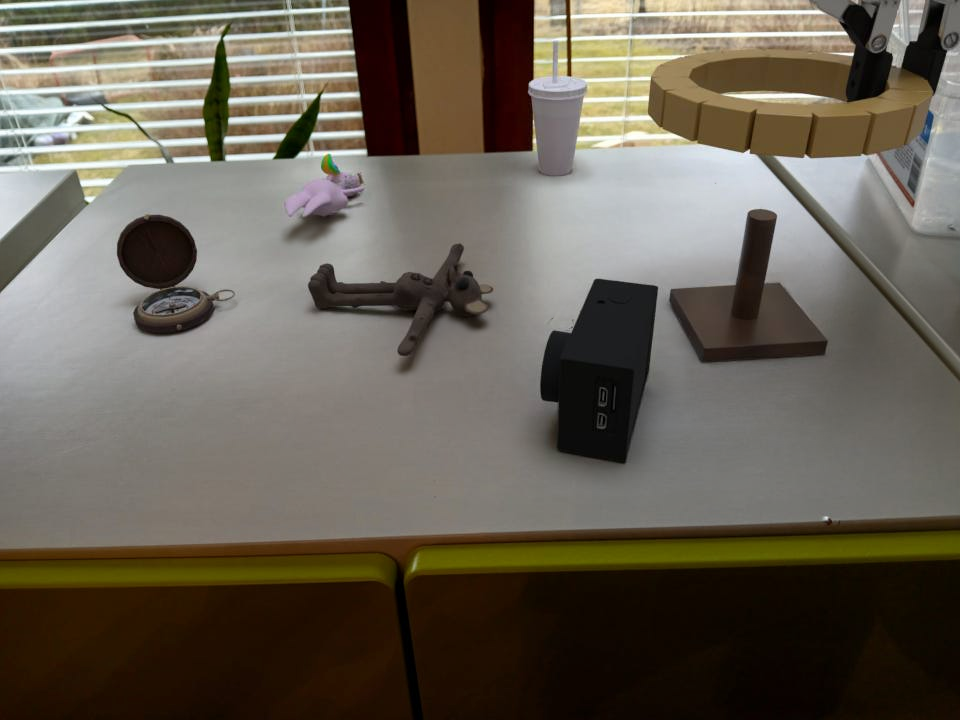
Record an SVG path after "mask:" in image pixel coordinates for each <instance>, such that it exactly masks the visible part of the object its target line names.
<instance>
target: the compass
mask: <svg viewBox="0 0 960 720" xmlns="http://www.w3.org/2000/svg"><path fill="white" fill-rule="evenodd" d="M116 257H117V260H118V263H119V267H120V268H121V270H122V271H123V273H124V274H125V275H126V276H127V277H128V278H129V279H130V280H131V281H133V283H136V284H138V285H140V286H142V287H144V288H148V289H154V290H155V289H156V290H157V291H154V292H152V293H150V294H148V295H147V296H146V297H145V298H143V299H142V300H141V302H139V303H138V304H137V306H135V308H134V310H133V313H132V314H133V319H134V322H135V325H136V326H137V327H138V328H140V329H142V330H144V331H147V332H150V333H158V334H161V333H164V334H165V333H175V332H180V331H184V330H186V329H190V328H193V327H195V326H197V325H199V324H201V323H203V321H205V320H206V319H207V318H208V317H209V316H210V315H212V312H213V311H214V307H215V306H214V302H215V301H216V302H225V301H228V300H231V299H233V298H234V297H235V296H236V292H235V291H234V290H233V289H227V288H226V289H220V290H217V291H215V292H214V293H212V294H209V293H208V292H206V291H203V290H200V289H197V288H195V287H192V286H178V285H179V284H180V283H182V282H183V281H185V280H186V279H188V277H189V276H190V275H191V273H192V272H193V271H194V268H195V266H196V264H197V259H198V258H197V257H198V248H197V244H196V240H195V238H194V237H193V235H192V233H191V232H190V230H189V229H188V228H187V227H186V226H185V225H184V224H183V223H182V222H181V221H179V220H177V219H175V218H173V217H171V216H167V215H163V214H149V213H146V214H144V215H143V216H141V217H138V218H135V219H134V220H132V221H131V222H129V223H128V224H127V225H126V226H125V227H124V228H123V230H122V231H121V232H120V233H119V237H118V239H117V242H116ZM222 292H223V293H224V292H230V293H232V294H231V295H230V296H229V297H226V298H220V295H219V294H220V293H222Z"/></svg>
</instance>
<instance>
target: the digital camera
mask: <svg viewBox="0 0 960 720" xmlns="http://www.w3.org/2000/svg"><path fill="white" fill-rule="evenodd" d="M658 292H659V286H658V285H655V284H647V283H638V282H629V281H621V280H613V279H607V278H606V279H605V278H595V279H593V281H592V284H591V285H590V288H589V290H588V293H587V295H586V298H585V300H584V303H583V304H582V307H581V309H580V311H579V313H578V316H577V318H576V321H575V323H574V325H573V327H572V330H571V332H567V331H561V330H557V329H555V330H552V331H551V332H550V334H549V336H548V339H547V341H546V345H545V348H544V353H543V358H542V363H541V368H540V369H541V370H540V383H539V384H540V385H539V391H540V398H541V400H542V401H544V402H550V403H556V404H558V409H557V436H556V437H557V439H556V449H557V450H558V451H559V452H564V453H569V454H573V455H580V456H585V457H590V458H596V459H602V460H606V461H613V462H616V463H617V462H618V463H622V464H625V463H626V462H627V458H628V454H629V451H630V446H631V443H632V438H633V435H634V432H635V428H636V424H637V420H638V417H639V411H640V408H641V404H642V401H643V396H644V392H645V388H646V385H647V381H648V377H649V374H650V366H651V359H652V348H653V340H654V330H655V322H656V321H655V320H656V314H657V313H656V312H657V304H658V294H659V293H658Z"/></svg>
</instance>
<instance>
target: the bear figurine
mask: <svg viewBox="0 0 960 720" xmlns="http://www.w3.org/2000/svg"><path fill="white" fill-rule="evenodd" d="M464 250H465V246H464V245H463V244H462V243H459V242H458V243H454V244H452V246H451V247H450V249H449V253H448V255H447V257H446V259H445V260H444V262H443V263H442V265H441V266H440V268H439V269H438V270H437V272H436V274H435V275H434V276H433V278H432V277H429V276H426V275H424V274H422V273H420V272H413V271H406V272H404V273H402V274H401V276H400V277H398V279H397V280H396V281H395V282H387V281H385V280H384V281H383V280H381V281H380V282H362V283H361V282H359V283H358V282H357V283H354V282H353V283H346V282H343V281H337V277H336V274H335V268H334V266H333V264H331V263H323V264H320V265H319V267H318V269H317V271H316V273H314V274H313V275H311V276H310V279H309V281H308V283H307V288H308V291H309V293H310V295H311V298H312V300H313V303H314V305H315V308H317V309H319V310H322V309H326V308H330V307H335V308H339V307H352V309H357V308H360V307H386V306H387V307H392V306H395V307H397V308H398V309H400V310H404V311H416V312H415V314H414V317H413V319H412V322H411V324H410V326H409V328H408V331H407V333H406V334H405V336H404V337H403V339H402V340H401V342H400V344H398V346H397V354H398V355H399V356H401V357H407V356H409V355H412V354H413V353H414V351H415V349H416V347H417V346H418V344H419V342H420V339H421V337H422V335H423V333H424V332H425V330H426V327H427V326H428V323H429V321H430V320H431V319H432V318H433V316H434V313H435V312H439V311H440V310H442V309H443V308H444V306H445V303H446V302H449V304H450V306H451V307H452V309H453V310H454V311H455V312H456V313H457V314H458V315H461V316H464V317H467V316H472V315H480V314H484V313H486V312H487V311H488V310H489V307H490V306H489V305H488V304H486V303H485V301H483V296H482V295H487V294H488V295H489V294H492V293H493V292H494V287H493V286H491V285H488V284H479V282H478V281H477V280H476V278H475V277H474V273H473V272H472V271H471V270H465V271H463V272H462V273H461V272H460V270H459V263H460V261H461V258H462V255H463V253H464Z"/></svg>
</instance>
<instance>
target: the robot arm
mask: <svg viewBox="0 0 960 720" xmlns="http://www.w3.org/2000/svg"><path fill="white" fill-rule="evenodd" d="M901 1H902V0H857V2H855V1H853V0H809V1H808V2H809V5H810V6H811V7H812V8H814V9H816V10H819V11H820V12H821V13H823V14H825V15H827V16H829V17H830V18H832V19H835V20H836V21H837V22H838V23H839V25H840V26H841V28H842V29H843V30H844V31H845V33H846V35H847V36H848V40H849V42H850V43H851V44H852V45H855V46H854V50H853V54H852V56H853V59H852V64H851V68H850V73H849V77H848V82H847V86H846V97H847V102H846V103H849V102H854V101H859V100H864V99H869V98H874V97H878V96H879V95H881V94H882V93H884V89H885V85H886V81H887V80H888V77H889V73H890V70H891V66H892V65H893V62H894V56H893V55H894V54H893V53H892V52H889V51H888V50H887V49H888V45H889V42H890V38H891V35H892V31H893V28H894V25H895V22H896V18H897V15H898V12H899V9H900V5H901ZM917 34H918V35H917V39H916V40H909V43H908V44H907V45H906V47H905V50H904V54H903V59H902V62H901V68H903V69H905V70H907V71H910V72H912V73H914V74H916V75H918V76H920V77H923V78H924V80H927V81H928V83H929V85H930V87H931V89H932V91H933V96H932V98H933V97H934V96H935V94H936V93H937V89H938V85H939V82H940V78H941V76H942V72H943V68H944V64H945V60H946V58H947V53H948V51H952V50H954V49H956V48H957V47H958V46H959V44H960V0H925V1H924V5H923V10H922V14H921V19H920V23H919V28H918V33H917Z"/></svg>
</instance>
